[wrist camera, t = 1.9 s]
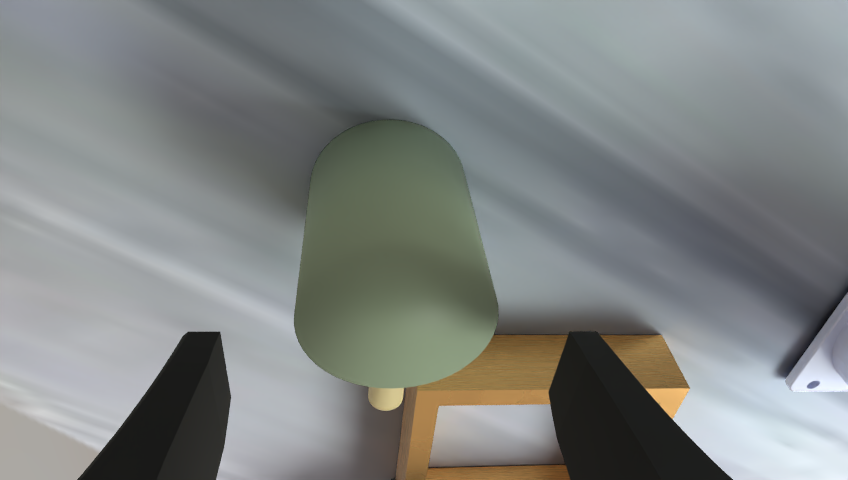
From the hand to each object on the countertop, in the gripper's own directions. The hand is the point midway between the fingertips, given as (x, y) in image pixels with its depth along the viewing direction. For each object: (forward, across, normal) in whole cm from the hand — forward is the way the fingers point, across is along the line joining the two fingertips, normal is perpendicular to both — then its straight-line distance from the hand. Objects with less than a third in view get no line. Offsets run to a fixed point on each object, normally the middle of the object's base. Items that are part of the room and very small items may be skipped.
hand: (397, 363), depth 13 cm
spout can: (+7, 0, 0) cm, 7 cm away
